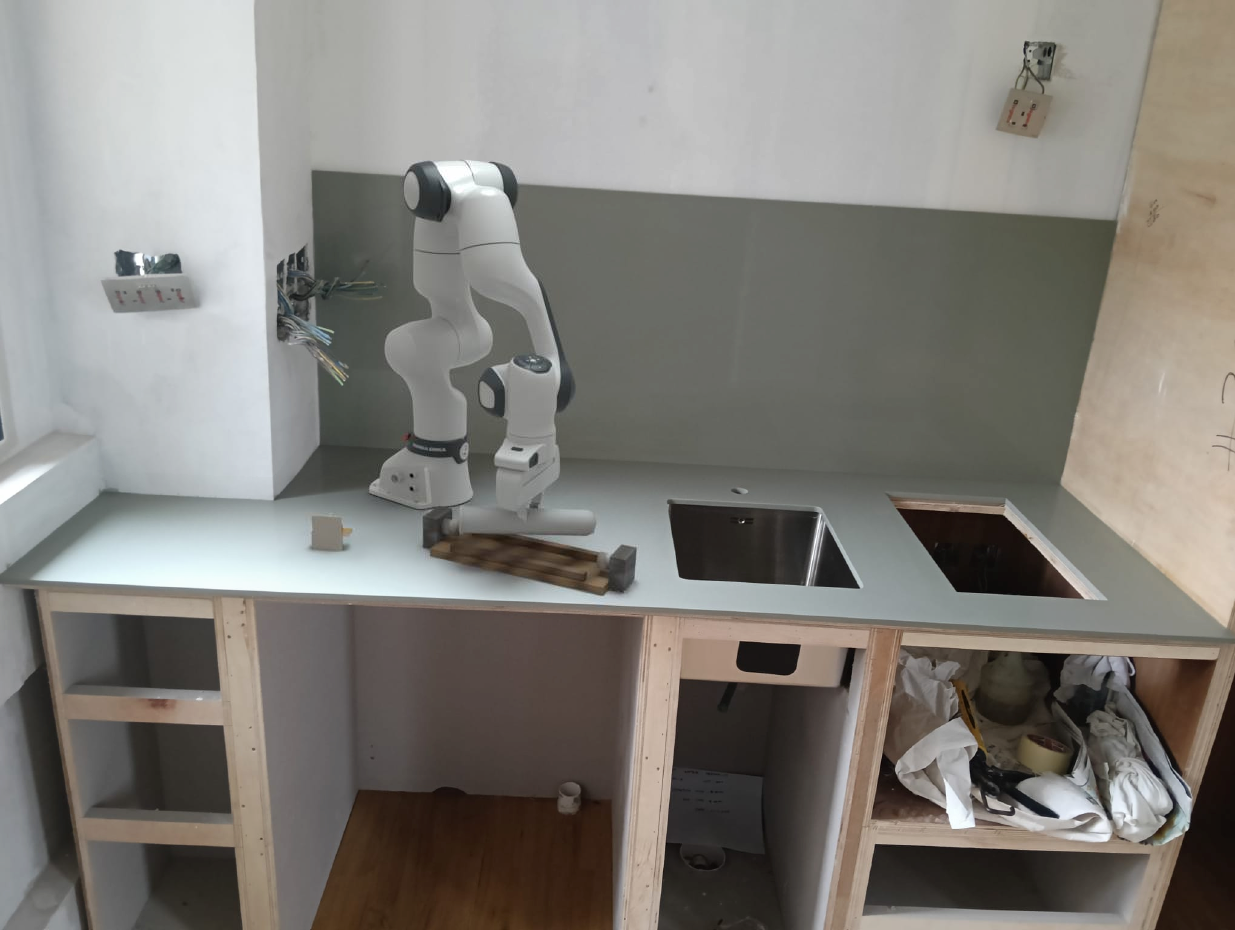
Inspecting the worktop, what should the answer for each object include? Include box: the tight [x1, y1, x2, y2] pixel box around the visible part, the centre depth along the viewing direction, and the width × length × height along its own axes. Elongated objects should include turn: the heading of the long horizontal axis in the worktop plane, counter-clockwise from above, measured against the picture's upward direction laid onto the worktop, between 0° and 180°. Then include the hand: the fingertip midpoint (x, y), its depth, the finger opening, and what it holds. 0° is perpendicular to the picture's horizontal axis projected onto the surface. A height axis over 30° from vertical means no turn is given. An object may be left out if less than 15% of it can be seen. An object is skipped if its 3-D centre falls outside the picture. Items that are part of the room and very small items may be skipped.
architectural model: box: [311, 512, 354, 552], centre depth 187 cm, size 3×7×7 cm, turn 90°
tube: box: [458, 504, 597, 537], centre depth 182 cm, size 5×5×25 cm
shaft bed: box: [422, 506, 638, 596], centre depth 186 cm, size 41×11×6 cm, turn 70°
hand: (529, 516), depth 183 cm, fingers closed on tube, 4 cm apart
